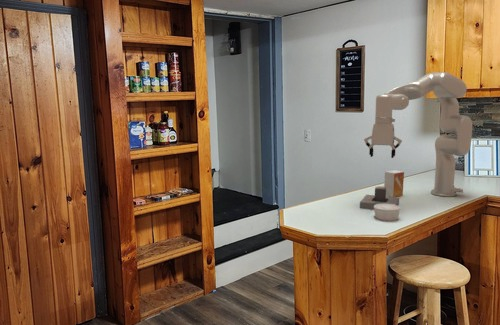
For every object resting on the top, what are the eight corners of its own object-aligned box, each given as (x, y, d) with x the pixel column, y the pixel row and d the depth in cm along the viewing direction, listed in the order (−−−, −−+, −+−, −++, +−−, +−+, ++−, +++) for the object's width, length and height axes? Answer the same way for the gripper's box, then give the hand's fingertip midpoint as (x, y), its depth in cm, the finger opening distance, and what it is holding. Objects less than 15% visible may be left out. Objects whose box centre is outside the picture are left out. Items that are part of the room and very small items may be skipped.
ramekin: (368, 218, 193) (369, 206, 193) (381, 213, 201) (381, 201, 200) (392, 223, 186) (392, 211, 185) (404, 217, 193) (404, 206, 192)
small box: (393, 197, 228) (394, 173, 226) (383, 195, 233) (384, 171, 231) (403, 195, 232) (404, 171, 230) (393, 193, 238) (394, 169, 235)
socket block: (399, 203, 216) (399, 197, 216) (394, 211, 202) (395, 204, 202) (366, 200, 223) (366, 194, 223) (359, 208, 209) (360, 201, 209)
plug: (385, 203, 215) (386, 186, 213) (385, 206, 210) (385, 188, 209) (375, 202, 216) (375, 185, 215) (374, 205, 212) (375, 187, 210)
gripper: (403, 121, 205) (402, 156, 208) (366, 120, 213) (365, 154, 216) (401, 122, 199) (400, 159, 202) (363, 121, 206) (362, 157, 209)
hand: (382, 157), depth 209 cm, fingers open, 9 cm apart
